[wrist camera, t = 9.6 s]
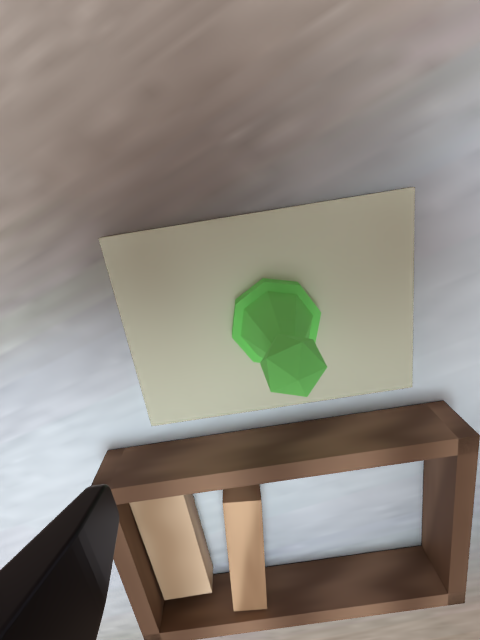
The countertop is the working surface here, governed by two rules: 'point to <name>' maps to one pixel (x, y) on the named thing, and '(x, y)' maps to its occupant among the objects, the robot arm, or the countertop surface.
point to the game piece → (280, 334)
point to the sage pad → (245, 271)
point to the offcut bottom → (175, 545)
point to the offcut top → (245, 546)
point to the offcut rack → (291, 463)
